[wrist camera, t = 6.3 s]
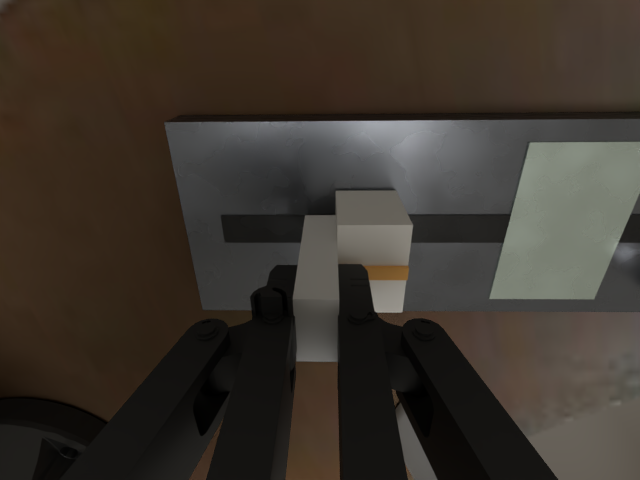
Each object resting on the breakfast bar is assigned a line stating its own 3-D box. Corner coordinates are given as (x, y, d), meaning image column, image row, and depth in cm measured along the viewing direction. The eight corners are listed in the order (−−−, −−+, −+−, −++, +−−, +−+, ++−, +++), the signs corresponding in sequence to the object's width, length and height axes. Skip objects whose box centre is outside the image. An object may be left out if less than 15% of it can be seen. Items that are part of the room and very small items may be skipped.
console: (212, 290, 24) (187, 340, 19) (179, 115, 18) (137, 133, 14) (646, 291, 23) (714, 344, 19) (738, 111, 18) (859, 128, 14)
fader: (334, 265, 20) (336, 315, 16) (335, 190, 18) (337, 227, 14) (388, 266, 20) (403, 315, 16) (396, 190, 18) (414, 227, 14)
